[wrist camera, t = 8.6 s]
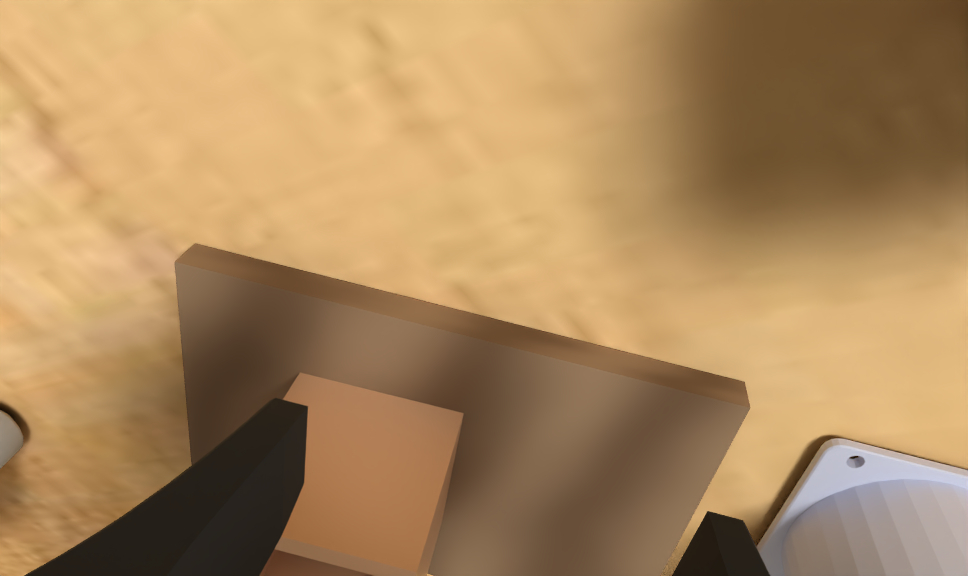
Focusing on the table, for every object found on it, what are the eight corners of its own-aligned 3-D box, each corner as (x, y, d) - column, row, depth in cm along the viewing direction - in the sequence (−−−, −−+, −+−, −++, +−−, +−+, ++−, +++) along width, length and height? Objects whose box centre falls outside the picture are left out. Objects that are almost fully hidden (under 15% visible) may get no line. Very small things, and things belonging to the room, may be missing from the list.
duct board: (744, 382, 21) (770, 500, 18) (631, 601, 28) (632, 723, 24) (195, 243, 22) (102, 326, 18) (210, 487, 29) (145, 586, 25)
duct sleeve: (463, 413, 23) (416, 572, 18) (441, 521, 26) (396, 683, 21) (299, 372, 23) (207, 517, 18) (297, 484, 26) (218, 635, 21)
